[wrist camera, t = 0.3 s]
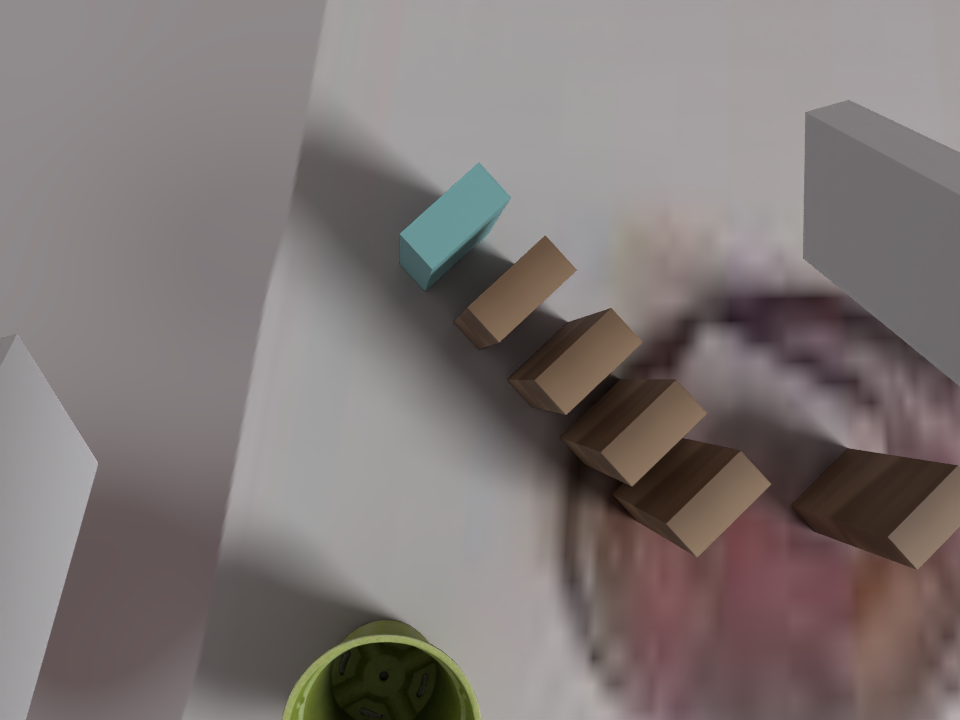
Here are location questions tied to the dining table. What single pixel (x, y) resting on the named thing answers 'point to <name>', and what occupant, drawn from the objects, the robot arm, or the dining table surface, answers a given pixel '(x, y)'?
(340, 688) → the plant pot
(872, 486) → the domino
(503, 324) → the domino
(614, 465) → the domino
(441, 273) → the domino
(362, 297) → the dining table surface
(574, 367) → the domino
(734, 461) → the domino
